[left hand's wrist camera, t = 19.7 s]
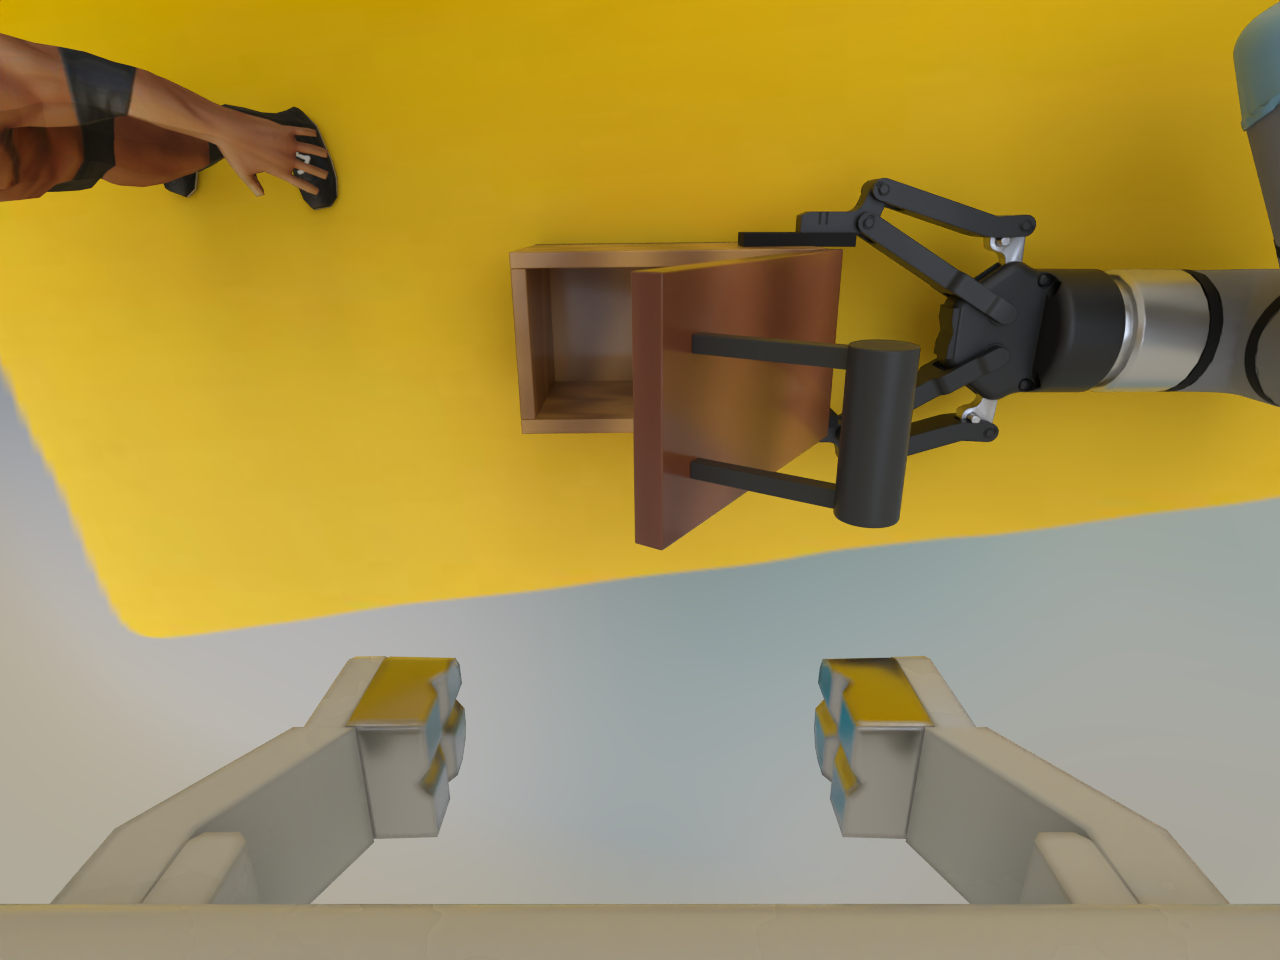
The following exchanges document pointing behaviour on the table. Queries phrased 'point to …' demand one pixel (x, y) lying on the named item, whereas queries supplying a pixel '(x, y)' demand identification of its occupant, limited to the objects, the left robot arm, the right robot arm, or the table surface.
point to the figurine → (138, 130)
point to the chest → (589, 327)
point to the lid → (759, 393)
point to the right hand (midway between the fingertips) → (736, 331)
